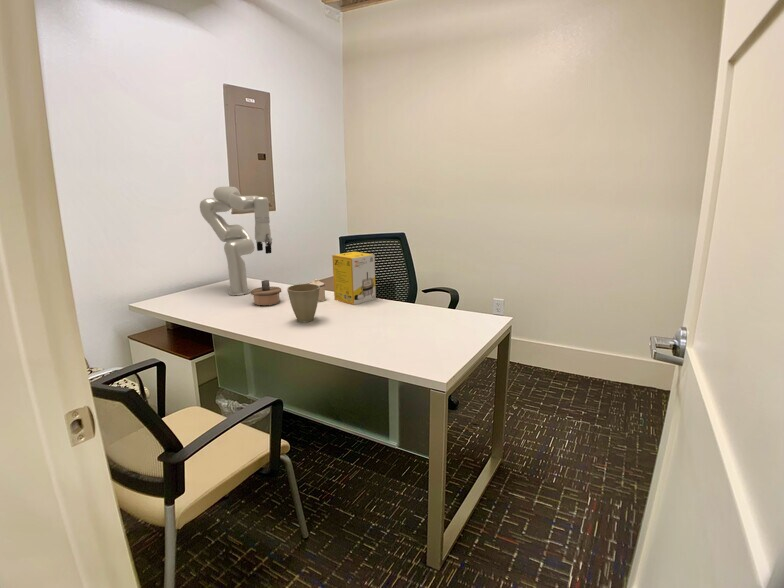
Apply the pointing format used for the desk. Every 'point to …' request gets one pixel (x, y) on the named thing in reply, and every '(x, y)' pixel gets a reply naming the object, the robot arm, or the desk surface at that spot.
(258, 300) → the bowl
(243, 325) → the desk surface
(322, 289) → the teacup with lid
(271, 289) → the lid
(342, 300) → the packaging box
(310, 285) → the plant pot
